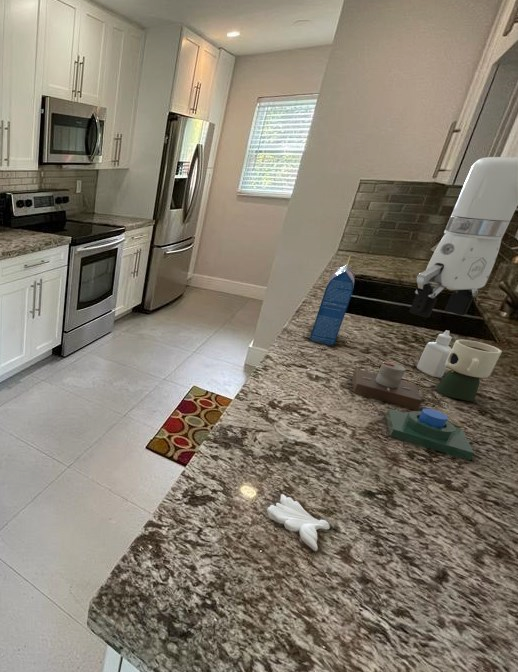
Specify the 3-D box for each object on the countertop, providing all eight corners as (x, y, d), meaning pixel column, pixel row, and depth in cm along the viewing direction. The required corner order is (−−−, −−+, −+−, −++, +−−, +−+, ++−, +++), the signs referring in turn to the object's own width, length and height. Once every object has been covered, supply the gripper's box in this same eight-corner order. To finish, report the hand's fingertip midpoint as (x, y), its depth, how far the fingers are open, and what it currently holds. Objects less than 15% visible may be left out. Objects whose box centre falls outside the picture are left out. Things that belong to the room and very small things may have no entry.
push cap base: (457, 437, 80) (465, 420, 79) (469, 463, 74) (479, 444, 72) (384, 417, 86) (391, 400, 85) (389, 438, 80) (397, 421, 78)
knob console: (410, 394, 95) (415, 382, 94) (416, 412, 88) (422, 399, 87) (351, 379, 101) (355, 368, 100) (352, 394, 94) (357, 383, 93)
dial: (396, 382, 94) (404, 364, 92) (399, 389, 91) (407, 370, 89) (374, 377, 96) (381, 359, 95) (376, 384, 93) (383, 365, 92)
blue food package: (307, 341, 122) (334, 259, 113) (312, 330, 131) (337, 253, 122) (333, 348, 118) (363, 263, 109) (336, 336, 127) (363, 257, 118)
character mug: (432, 382, 101) (454, 334, 97) (473, 393, 97) (499, 343, 92) (432, 399, 94) (456, 347, 89) (477, 412, 89) (505, 359, 85)
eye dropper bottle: (419, 375, 105) (438, 332, 100) (414, 366, 109) (433, 325, 105) (442, 380, 102) (463, 336, 98) (437, 371, 107) (457, 329, 102)
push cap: (441, 421, 79) (446, 412, 78) (445, 430, 76) (450, 421, 76) (416, 415, 81) (420, 406, 80) (419, 423, 78) (424, 414, 78)
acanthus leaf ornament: (314, 555, 55) (319, 545, 54) (260, 521, 60) (263, 511, 59) (332, 526, 60) (336, 516, 59) (280, 497, 64) (283, 487, 64)
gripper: (466, 231, 71) (426, 323, 77) (534, 231, 75) (491, 318, 81) (417, 224, 77) (384, 309, 84) (482, 224, 81) (446, 305, 88)
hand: (436, 313), depth 82 cm, fingers open, 9 cm apart
